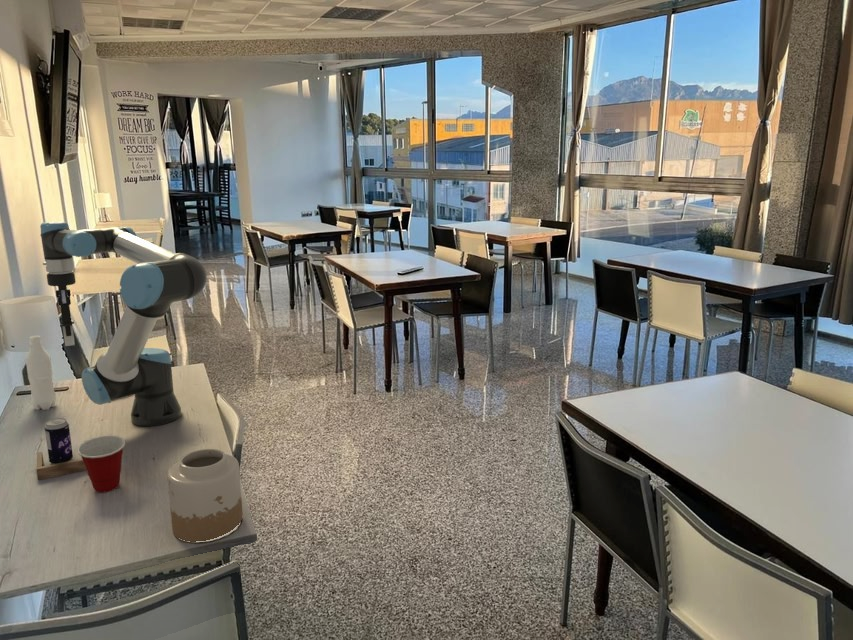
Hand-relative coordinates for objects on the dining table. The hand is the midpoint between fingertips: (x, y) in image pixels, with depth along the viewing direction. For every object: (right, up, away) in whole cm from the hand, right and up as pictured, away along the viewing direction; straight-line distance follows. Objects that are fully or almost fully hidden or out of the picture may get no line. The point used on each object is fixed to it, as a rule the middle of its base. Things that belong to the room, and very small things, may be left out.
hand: (70, 345), depth 194 cm
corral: (+14, -32, -27) cm, 44 cm away
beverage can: (+12, -32, -25) cm, 42 cm away
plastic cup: (+32, -35, -38) cm, 61 cm away
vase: (+64, -39, -54) cm, 92 cm away
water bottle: (-16, -22, +13) cm, 30 cm away
